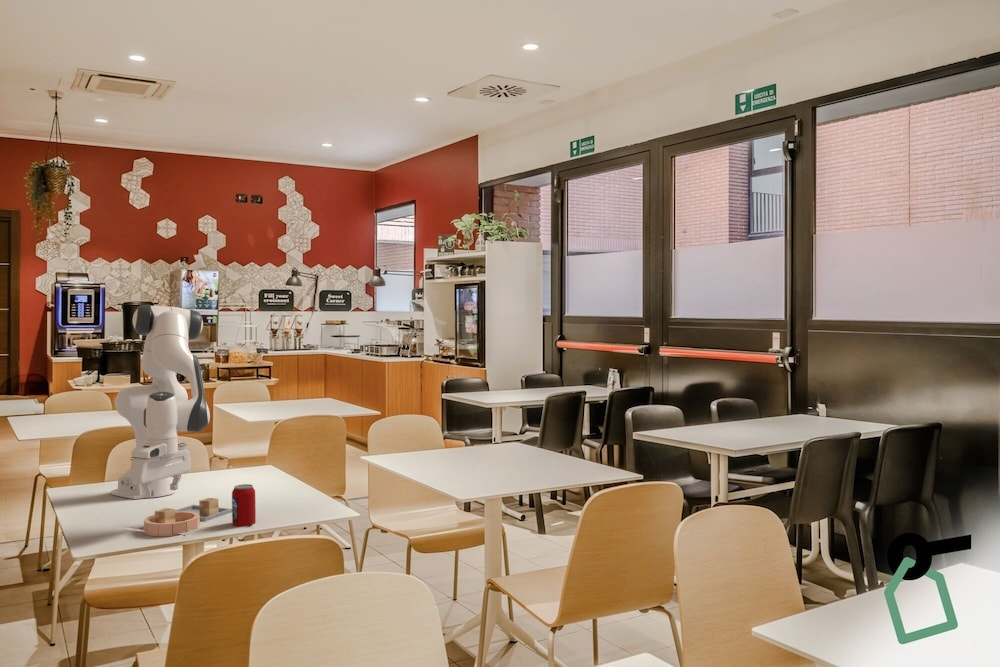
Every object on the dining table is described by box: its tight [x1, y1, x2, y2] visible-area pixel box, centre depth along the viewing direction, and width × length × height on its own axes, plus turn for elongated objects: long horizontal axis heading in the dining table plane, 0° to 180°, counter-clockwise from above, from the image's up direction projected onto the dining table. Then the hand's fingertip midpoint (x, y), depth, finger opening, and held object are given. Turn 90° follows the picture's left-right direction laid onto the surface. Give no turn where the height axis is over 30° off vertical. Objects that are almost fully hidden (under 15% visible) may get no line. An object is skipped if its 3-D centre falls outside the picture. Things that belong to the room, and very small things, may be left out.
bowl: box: [143, 511, 201, 538], centre depth 241 cm, size 15×15×4 cm
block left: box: [154, 507, 176, 523], centre depth 242 cm, size 4×4×5 cm
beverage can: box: [231, 483, 257, 528], centre depth 245 cm, size 7×7×12 cm
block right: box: [198, 497, 220, 517], centre depth 256 cm, size 4×4×5 cm
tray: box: [175, 504, 232, 522], centre depth 257 cm, size 16×12×2 cm
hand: (162, 493), depth 242 cm, fingers open, 8 cm apart
